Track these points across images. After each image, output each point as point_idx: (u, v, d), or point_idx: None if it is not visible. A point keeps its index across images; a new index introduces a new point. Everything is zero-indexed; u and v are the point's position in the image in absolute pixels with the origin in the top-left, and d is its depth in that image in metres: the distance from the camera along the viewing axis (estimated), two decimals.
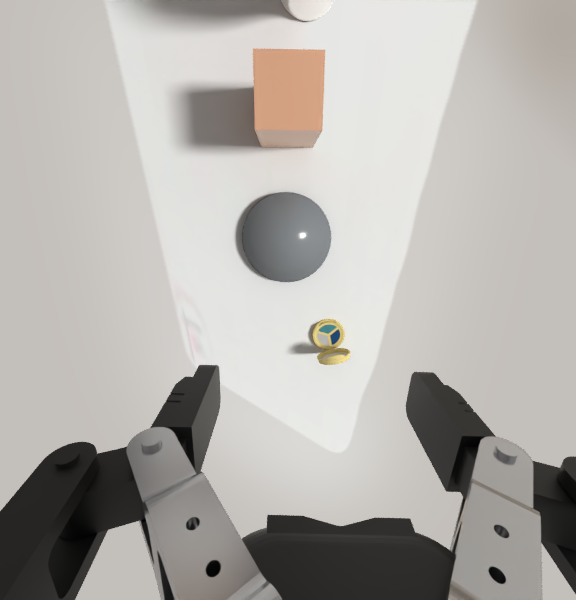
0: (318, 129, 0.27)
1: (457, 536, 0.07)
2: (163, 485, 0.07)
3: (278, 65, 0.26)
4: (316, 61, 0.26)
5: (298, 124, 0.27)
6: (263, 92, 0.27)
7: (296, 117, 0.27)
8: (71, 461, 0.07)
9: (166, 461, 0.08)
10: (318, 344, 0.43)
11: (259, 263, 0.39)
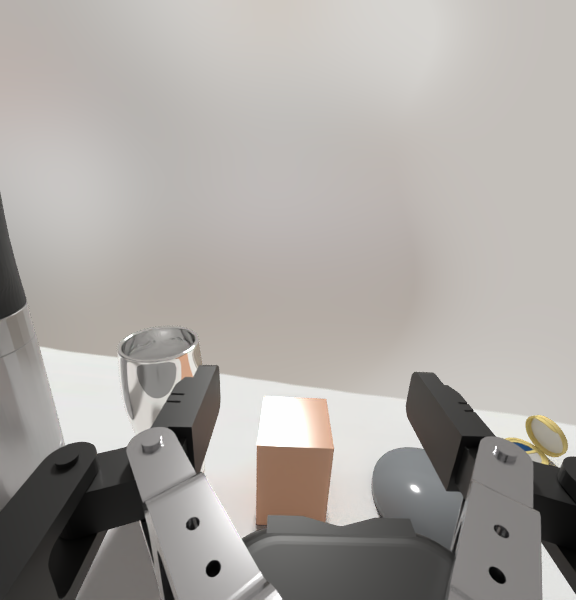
0: (325, 401, 0.29)
1: (457, 536, 0.07)
2: (163, 485, 0.07)
3: (273, 426, 0.26)
4: (271, 400, 0.29)
5: (323, 413, 0.28)
6: (296, 438, 0.25)
7: (317, 415, 0.27)
8: (71, 461, 0.07)
9: (166, 461, 0.08)
10: (545, 463, 0.34)
11: None
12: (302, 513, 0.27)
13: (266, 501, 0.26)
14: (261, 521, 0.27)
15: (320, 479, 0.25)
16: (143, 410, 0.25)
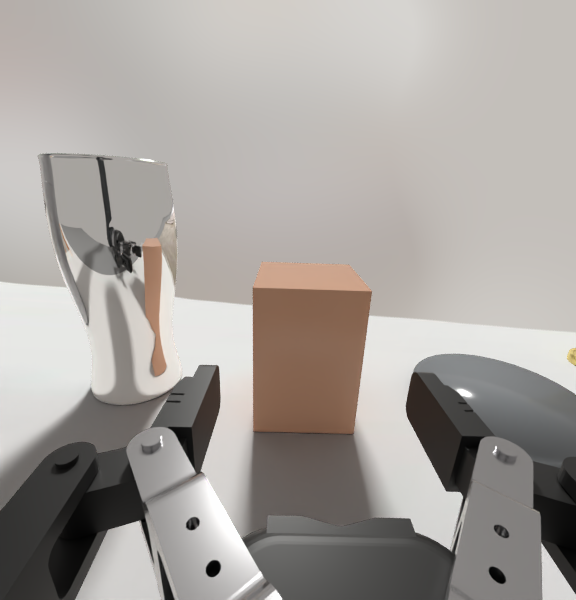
0: (348, 265, 0.21)
1: (457, 536, 0.07)
2: (163, 485, 0.07)
3: (277, 277, 0.17)
4: (272, 264, 0.21)
5: (348, 271, 0.19)
6: (313, 284, 0.16)
7: (339, 272, 0.19)
8: (71, 461, 0.07)
9: (166, 461, 0.08)
10: None
11: None
12: (321, 410, 0.18)
13: (268, 390, 0.17)
14: (261, 425, 0.18)
15: (348, 349, 0.17)
16: (78, 245, 0.16)
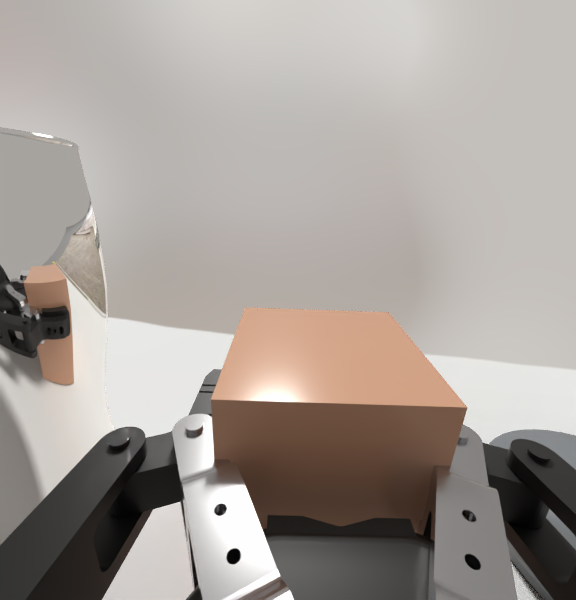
0: (389, 315, 0.13)
1: (426, 525, 0.07)
2: (200, 468, 0.07)
3: (266, 355, 0.09)
4: (262, 314, 0.12)
5: (394, 334, 0.11)
6: (339, 382, 0.08)
7: (380, 336, 0.11)
8: (124, 443, 0.08)
9: (211, 444, 0.08)
10: None
11: None
12: None
13: None
14: None
15: (408, 508, 0.08)
16: None
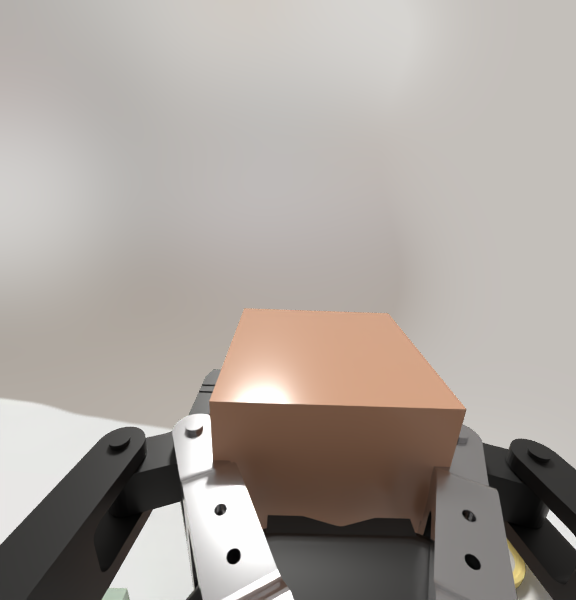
0: (388, 316, 0.13)
1: (426, 525, 0.07)
2: (200, 468, 0.07)
3: (265, 356, 0.09)
4: (261, 314, 0.12)
5: (393, 335, 0.11)
6: (338, 384, 0.08)
7: (379, 337, 0.11)
8: (124, 444, 0.08)
9: (211, 444, 0.08)
10: (521, 571, 0.22)
11: None
12: None
13: None
14: None
15: (407, 510, 0.08)
16: None
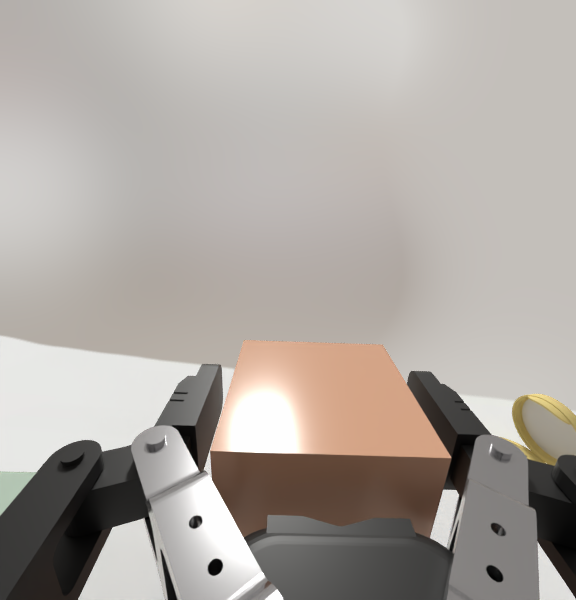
0: (382, 348, 0.13)
1: (454, 535, 0.07)
2: (167, 483, 0.07)
3: (263, 398, 0.10)
4: (260, 347, 0.13)
5: (386, 371, 0.11)
6: (332, 430, 0.08)
7: (373, 373, 0.11)
8: (77, 459, 0.08)
9: (171, 459, 0.08)
10: None
11: None
12: None
13: None
14: None
15: None
16: None
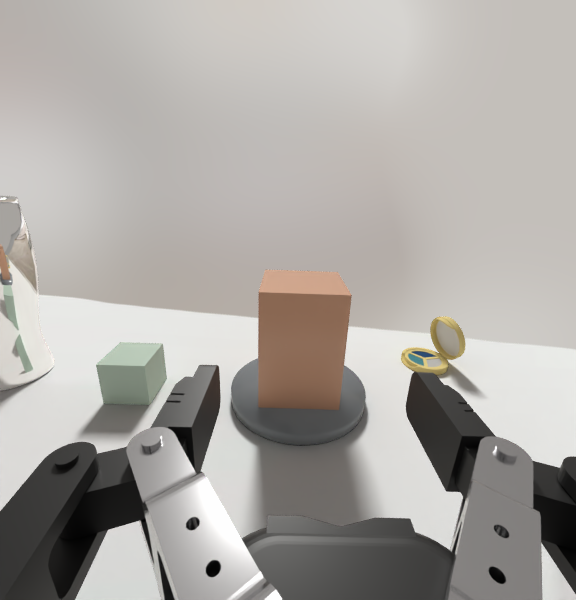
0: (337, 273, 0.25)
1: (457, 536, 0.07)
2: (163, 485, 0.07)
3: (277, 283, 0.22)
4: (274, 271, 0.25)
5: (335, 278, 0.24)
6: (306, 289, 0.21)
7: (328, 279, 0.23)
8: (71, 461, 0.07)
9: (166, 461, 0.08)
10: (444, 365, 0.30)
11: (341, 413, 0.23)
12: (313, 390, 0.22)
13: (270, 374, 0.22)
14: (264, 402, 0.23)
15: (334, 341, 0.21)
16: None
